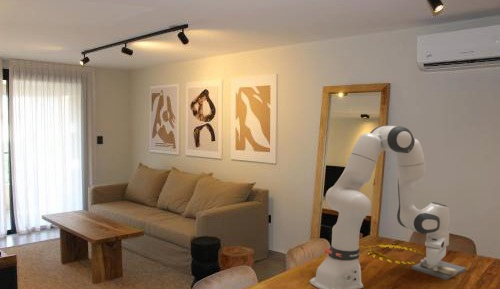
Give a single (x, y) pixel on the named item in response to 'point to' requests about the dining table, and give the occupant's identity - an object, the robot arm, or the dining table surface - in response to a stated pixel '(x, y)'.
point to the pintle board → (437, 273)
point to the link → (441, 268)
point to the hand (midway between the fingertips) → (436, 270)
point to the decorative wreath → (391, 257)
